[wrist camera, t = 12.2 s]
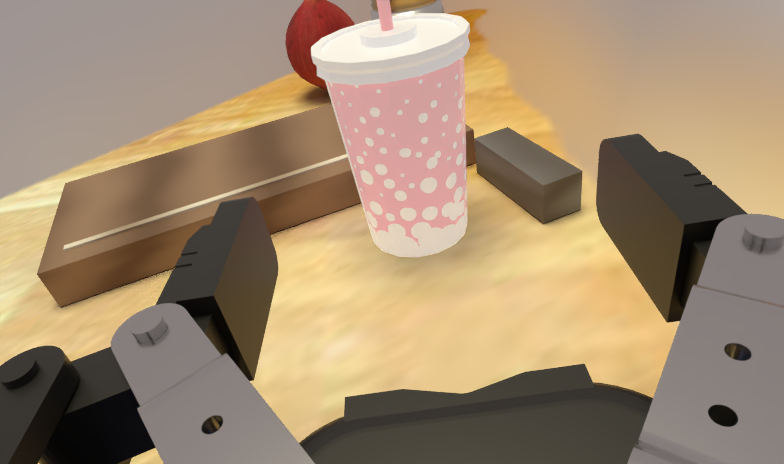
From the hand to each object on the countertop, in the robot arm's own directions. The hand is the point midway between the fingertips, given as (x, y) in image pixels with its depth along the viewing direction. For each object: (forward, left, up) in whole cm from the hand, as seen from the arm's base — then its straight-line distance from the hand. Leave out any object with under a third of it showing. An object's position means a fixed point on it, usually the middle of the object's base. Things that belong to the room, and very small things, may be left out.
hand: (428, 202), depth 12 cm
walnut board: (-2, +15, -8) cm, 17 cm away
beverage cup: (+3, +10, -8) cm, 13 cm away
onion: (+5, +32, -8) cm, 33 cm away
